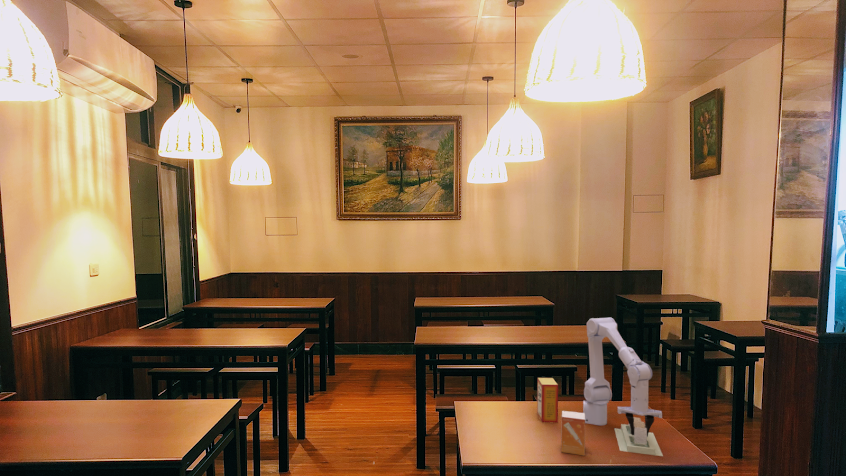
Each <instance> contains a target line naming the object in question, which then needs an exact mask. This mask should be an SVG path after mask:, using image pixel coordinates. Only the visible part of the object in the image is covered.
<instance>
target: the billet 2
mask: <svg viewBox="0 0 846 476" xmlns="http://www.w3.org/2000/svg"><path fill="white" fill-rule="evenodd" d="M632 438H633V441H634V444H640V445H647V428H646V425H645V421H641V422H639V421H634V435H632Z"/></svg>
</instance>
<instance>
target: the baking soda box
mask: <svg viewBox="0 0 846 476" xmlns="http://www.w3.org/2000/svg"><path fill="white" fill-rule="evenodd" d="M536 387H537V388H536V389H537V392H536V394H537V400H536V401H537V402H536V403H537V405H536V406H537V407H536V408H537V409H536V410H537V411H536V413H537V416H538V418H539V420H540V421H542V422H541V423H550V422H553V424H554V423H555V424H556V423H558V422H559V384H558V383H557V382H556V381H555V379H554V378H553V377H537V386H536Z"/></svg>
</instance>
